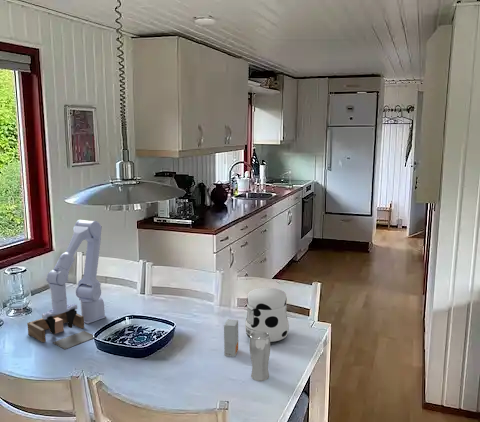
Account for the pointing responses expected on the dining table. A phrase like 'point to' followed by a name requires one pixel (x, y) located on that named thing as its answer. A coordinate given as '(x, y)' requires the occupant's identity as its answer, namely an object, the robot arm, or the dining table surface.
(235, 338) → the skincare box
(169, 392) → the dining table surface
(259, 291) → the milk container
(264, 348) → the beer glass
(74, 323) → the open box
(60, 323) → the terracotta block
